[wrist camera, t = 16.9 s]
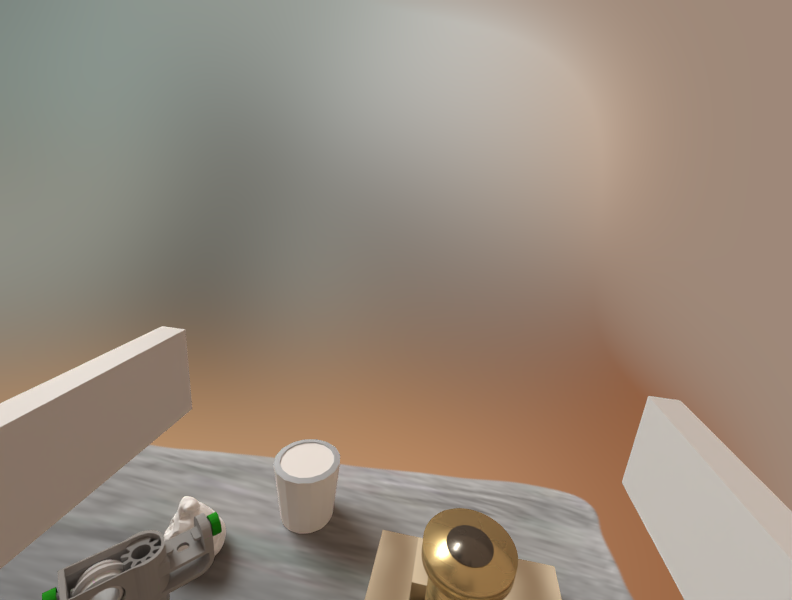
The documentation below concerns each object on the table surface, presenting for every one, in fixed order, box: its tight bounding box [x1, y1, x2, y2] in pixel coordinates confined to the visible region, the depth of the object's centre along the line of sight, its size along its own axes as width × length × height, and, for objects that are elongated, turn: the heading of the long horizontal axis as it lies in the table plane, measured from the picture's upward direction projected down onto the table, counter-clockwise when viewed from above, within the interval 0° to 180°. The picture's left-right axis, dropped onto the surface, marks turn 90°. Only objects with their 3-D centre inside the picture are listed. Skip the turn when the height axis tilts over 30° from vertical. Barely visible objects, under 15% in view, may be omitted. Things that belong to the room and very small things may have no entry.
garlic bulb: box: [163, 496, 226, 555], centre depth 37 cm, size 6×6×5 cm
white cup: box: [273, 440, 340, 534], centre depth 42 cm, size 7×7×7 cm
